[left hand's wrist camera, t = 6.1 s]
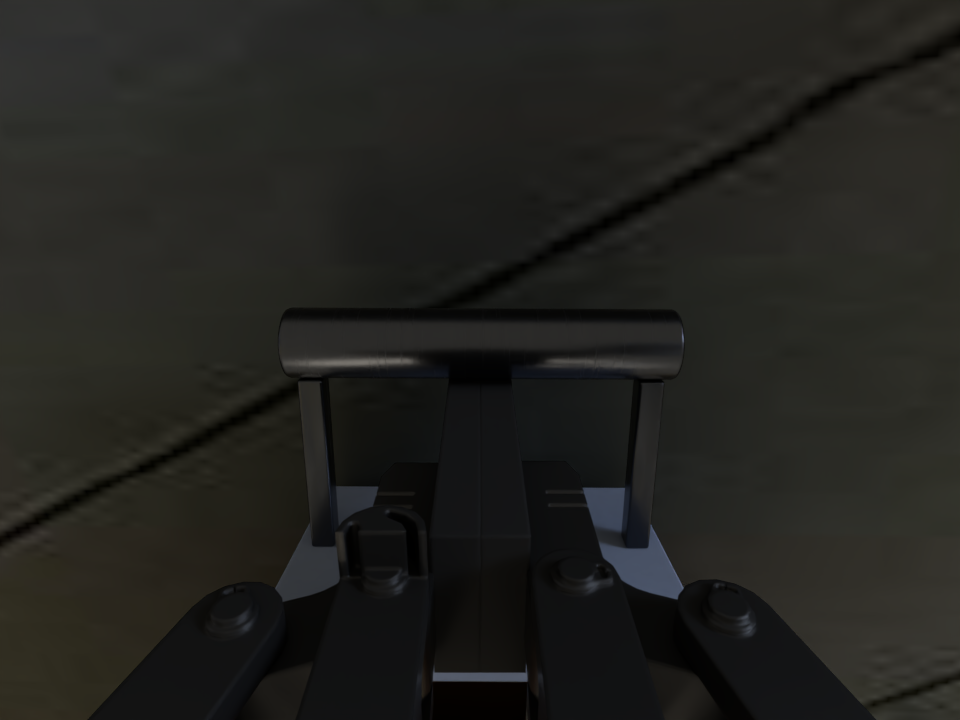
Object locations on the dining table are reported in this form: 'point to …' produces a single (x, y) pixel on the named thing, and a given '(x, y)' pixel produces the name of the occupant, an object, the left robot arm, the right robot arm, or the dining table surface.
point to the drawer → (483, 355)
